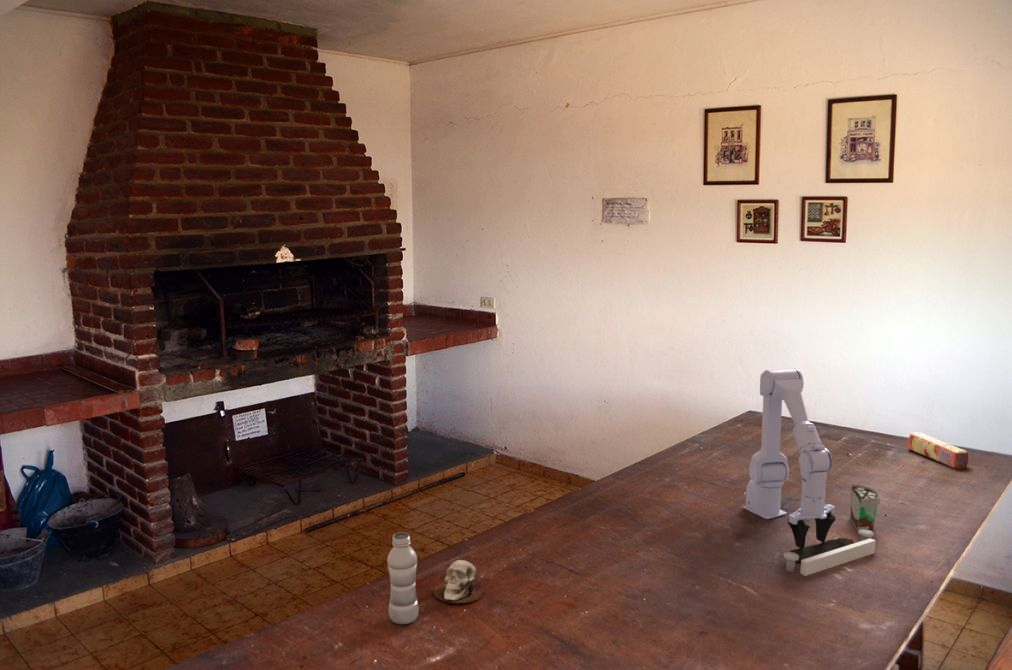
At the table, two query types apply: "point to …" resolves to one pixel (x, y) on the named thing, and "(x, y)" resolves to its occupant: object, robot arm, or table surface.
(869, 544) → the cream long bar
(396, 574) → the plastic bottle
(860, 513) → the food container
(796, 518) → the robot arm
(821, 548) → the wood
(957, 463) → the snack package
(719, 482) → the table surface
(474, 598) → the skull
